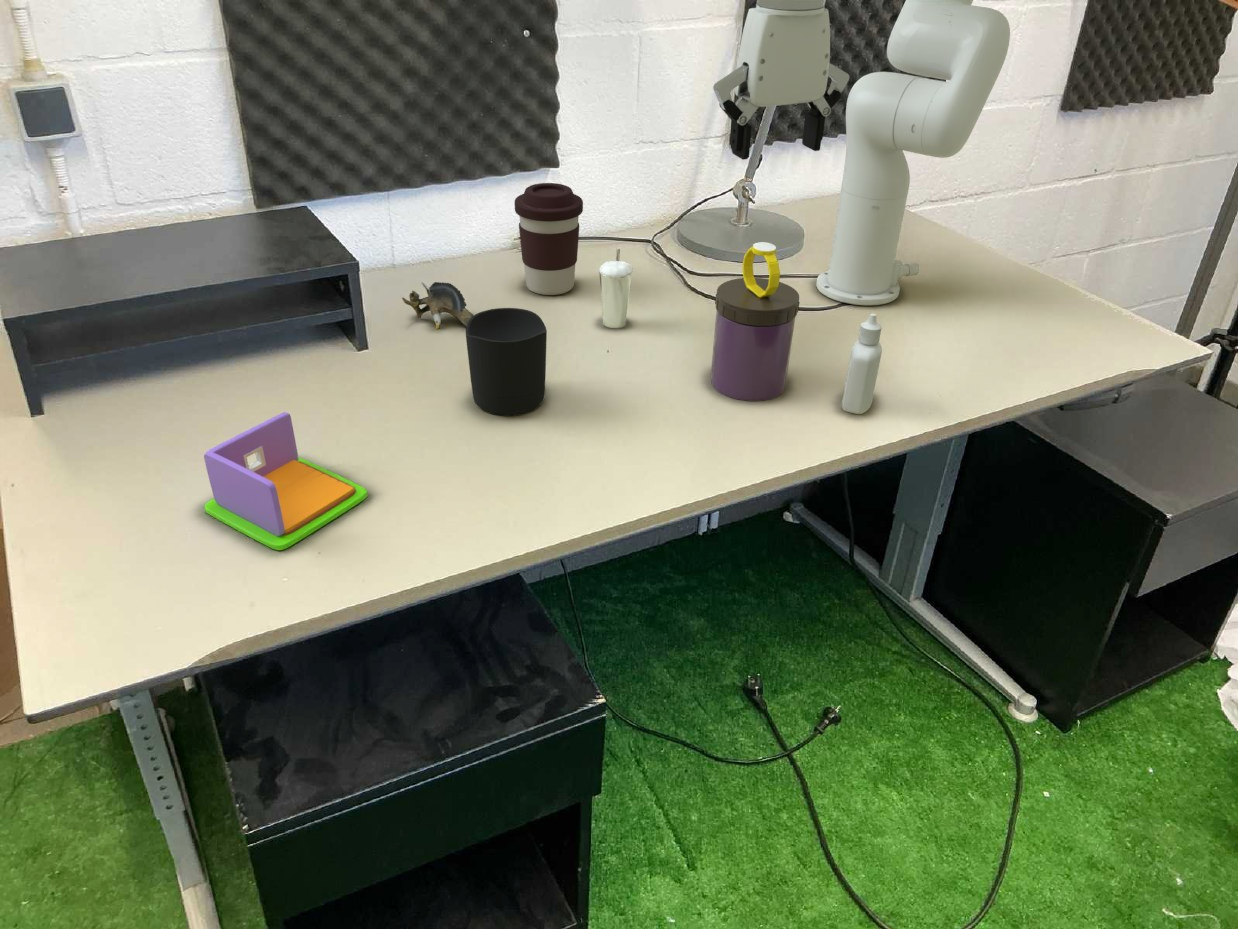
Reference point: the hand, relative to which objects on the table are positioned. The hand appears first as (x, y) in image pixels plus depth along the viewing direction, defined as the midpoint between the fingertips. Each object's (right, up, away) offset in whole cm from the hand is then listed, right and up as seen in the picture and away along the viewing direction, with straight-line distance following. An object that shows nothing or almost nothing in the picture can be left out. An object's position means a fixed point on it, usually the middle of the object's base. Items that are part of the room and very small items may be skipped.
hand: (775, 151), depth 116 cm
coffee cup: (-29, -11, +31) cm, 44 cm away
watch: (-2, -17, 0) cm, 17 cm away
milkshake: (-19, -18, +21) cm, 34 cm away
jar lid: (-2, -17, 0) cm, 18 cm away
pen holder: (-32, -30, +1) cm, 44 cm away
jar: (-2, -27, +7) cm, 28 cm away
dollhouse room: (-53, -42, -18) cm, 70 cm away
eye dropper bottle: (+10, -30, +3) cm, 32 cm away
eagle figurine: (-43, -18, +19) cm, 51 cm away
